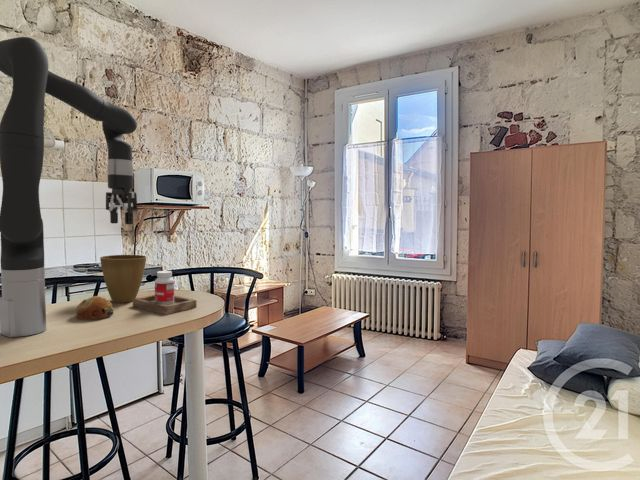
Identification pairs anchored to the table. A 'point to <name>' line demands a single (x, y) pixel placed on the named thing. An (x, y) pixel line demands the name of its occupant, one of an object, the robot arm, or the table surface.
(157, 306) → the shallow rectangular tray
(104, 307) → the bread roll
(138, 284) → the plant pot
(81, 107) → the robot arm
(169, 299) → the pill bottle
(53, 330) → the table surface
